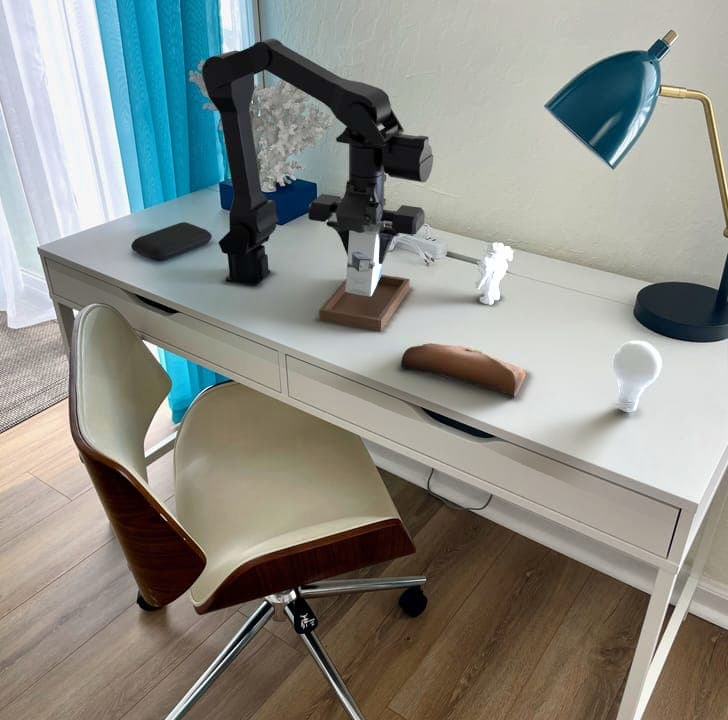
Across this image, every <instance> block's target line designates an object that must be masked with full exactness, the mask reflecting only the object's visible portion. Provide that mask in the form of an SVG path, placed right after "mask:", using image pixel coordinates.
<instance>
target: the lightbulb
mask: <svg viewBox="0 0 728 720" xmlns="http://www.w3.org/2000/svg"><path fill="white" fill-rule="evenodd" d="M661 369H662V357H661V355H660V353H659V351H658V350H657V349H656V347H654V346H653V345H652V344H651V343H648V342H646V341H643V340H630V341H628V342H625V343H623V344H622V345H620V346H619V347H618V348H617V350H616V351H615V353H614V355H613V358H612V370H613V373H614V376H616V379H617V382H618V390H619V392H618V398H617V402H616V407H617V408H618V409H619V410H621V411H623V412H626V413H632V412H634V411H636V410H637V407H638V402H639V398H640V396H641V395H642V394H643V392H644V391H645V389H646V387H648V386H649V385H650V384H652V383H653V382H654V381H655V380H656V379H657V378H658V376H659V375H660V372H661Z"/></svg>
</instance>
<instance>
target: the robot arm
mask: <svg viewBox="0 0 728 720" xmlns="http://www.w3.org/2000/svg"><path fill="white" fill-rule="evenodd" d="M264 71H266V72H268V73H270V74H272V75H274V76H275V77H277V78H279V79H281V81H284V82H286V83H287V84H289V85H291V86H292V87H294V88H297V89H298V90H299V91H301V92H303V93H305V94H307V95H308V96H310V97H312V98H313V99H316V100H317V101H319V102H321V103H322V104H324V105H325V106H326V107H327V108H329V109H330V111H331V112H332V114H333V115H334V117H335V118H336V119H337V120H338V121H339V122H341V124H343V125H344V126H345V128H344V130H343V132H341V133H340V134H339V135H338V136H336V137H335V141H336V142H337V143H339V144H340V143H341V144H346V145H348V179H347V181H346V185H345V192H344V194H343V197H341V196H339V195H334V194H333V195H332V194H327V193H321V194H320V195H319V196H317V198H315V199H314V200H313V201H312V202H310V204H308V208H307V214H308V215H307V216H308V220H310V221H316V222H323V223H325V222H326V221H327V222H326V223H325V224H326V226H327V227H328V228H332V229H333V230H334V231H335V232H337V234H338V236H339V238H340V241H341V243H342V246H343V248H344V250H345V253H346V256H347V257H348V245H349V231H355V232H357V233H363V232H365V231H366V230H367V228H368V226H371V225H378V224H379V222H380V221H382V222H384V225H385V226H384V228H383V229H382V230H381V231H380V232H379V233H380V237H381V241H380V250H379V264H382V265H383V263H384V261H385V259H386V257H387V254H388V252H389V249H390V246H391V244H392V242H393V239H394V238H395V237H398V236H400V235H401V234H402V235H409V236H414V235H417V233H418V232H419V231H420V229H421V228H422V227H423V225H424V224H425V217H426V213H425V211H424V209H423V208H422V207H419V206H411V205H405V204H401V205H400V206H399V208H398V209H397V210H390V209H389V210H388V209H385V206H386V203H387V200H386V198H385V183H386V181H387V175H388V177H390V178H393V179H401V180H406V181H412V182H419V183H426V182H427V181H428V180H429V177H430V175H431V173H432V169H433V166H434V165H433V164H434V154H433V150H432V146H431V145H430V144H429V142H430V141H429V140H430V138H429V136H426V135H413V134H412V135H411V134H404V132H405V129H404V128H403V126H402V124H401V122H400V121H399V119H398V117H397V116H396V113H395V112H394V110H393V109H392V104H391V100H390V99H389V98H390V97H389V95H388V94H387V92H385V91H384V90H383V88H382V89H381V88H380V87H377V86H374V85H371V84H367V83H365V82H361V81H356V80H350V79H346V78H343V77H341V76H339V75H337V74H336V73H334V72H332V71H330V70H328V69H327V68H325V67H323V66H321V65H319V64H317V63H316V62H314V61H312V60H311V59H309V58H307V57H305V56H304V55H302V54H300V53H298V52H296V51H294V50H293V49H291V48H289V47H288V46H286V45H285V44H283V43H282V42H281V41H280V40H278V39H276V38H267V39H263V40H260V41H257V42H255V43H253V45H251V46H249V47H246V48H245V49H241V50H236V49H235V50H230V51H227V52H224V53H220V54H217V55H213V56H210V57H208V58H207V59H206V60H205V61H204V63H203V64H202V66H201V78H202V80H203V84H204V86H205V90H206V94H207V96H208V98H209V100H210V101H211V102H212V104H213V105H214V106H215V108H216V109H217V111H218V113H219V116H220V122H221V127H222V134H223V140H224V145H225V151H226V157H227V164H228V169H229V174H230V180H231V185H232V193H233V198H232V202H231V206H230V209H229V213H228V214H229V215H228V219H229V221H228V223H229V231H228V232H227V233H226V234H225V235H224V236H223V237H222V238H221V239H220V240H219V241H218V245H219V248H220V250H221V252H222V253H223V254H225V255H227V263H228V273H229V274H228V275H227V276H225V282H229V283H235V284H241V285H246V286H251V287H257V286H258V285H259V284H260V283H262V282H263V281H264V280H265V279H266V278H267V277H268V276H269V275H270V274H271V273H272V272H271V269H270V268H269V258H268V257H269V256H268V254H267V253H266V246H265V245H263V244H265V243H267V242H269V240H270V236H271V235H272V234H273V233H274V232H275V230H276V228H277V223H278V222H279V221H280V219H279V217H278V215H277V208H276V207H277V203H276V201H275V200H274V199H270V200H269V199H268V198H267V197H266V196H265V194H264V192H263V190H262V185H261V179H260V178H261V177H260V172H259V166H258V160H257V151H256V144H255V139H254V133H253V126H252V119H251V118H252V117H251V113H250V107H251V104H252V103H251V102H252V99H253V96H254V92H255V75H257V74H259V73H262V72H264ZM380 126H382V127H383V128H382V129H379V127H380Z"/></svg>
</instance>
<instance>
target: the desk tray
mask: <svg viewBox="0 0 728 720" xmlns="http://www.w3.org/2000/svg"><path fill="white" fill-rule="evenodd" d="M410 282H411V279H410V278H406V277H405V278H404V277H399V276H394V275H393V276H392V275H386V274H381V277H380V279H379V281H378V283H377V286H376V288H375V290H374V292H373V294H372V296H370V297H369V296H363V295H358V294H353V293H348V292H345V287H346V278H345V279H344V280H343V282H341V284H340V285H339V286H338V287H337V288H336V289H335V290H334V292H333V293H331V295H330V296H329V298H328V299H327V300H326V301H325V302H324V303H323V305H322V306H321V307H320V308H319V309H318V313H319V321H321V322H327V323H333V324H338V325H342V326H343V325H344V326H348V327H353V328H359V329H366V330H371V331H375V332H382V331H383V329H384V328H385V326H386V325H387V324H388V322H389V320H390V319H391V317H392V316H393V315H394V313H395V312H396V311H397V308H398V307H399V306H400V304H401V302H402V301H403V299H404V298H405V297H406V295H407V293H409V291H410Z"/></svg>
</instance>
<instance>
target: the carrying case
mask: <svg viewBox="0 0 728 720" xmlns="http://www.w3.org/2000/svg"><path fill="white" fill-rule="evenodd" d="M212 237H213V234H212V233H211V232H210V231H208V230H207V229H205V228H204V227H203V228H202V227H200V226H197V225H194V224H192V223H189V222H186V221H182V222H178V223H175V224H172V225H169V226H167V227H164V228H161V229H158V230H156V231H153V232H150V233H147V234H144V235H141V236H139V237H137V238H135V239H134V240H133V242H132V243H131V249H132V250H133V251H134V252H136V254H137V255H141V256H144V257H145V258H148V259H150V260H153V261H154V262H165V261H167V260H170V259H173V258H175V257H178V256H180V255H183V254H185V253H188V252H190V251H194V250H195V249H198V248H200V247H203V246H205V245H208V244H209V242H210V241H211V240H212Z"/></svg>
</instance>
